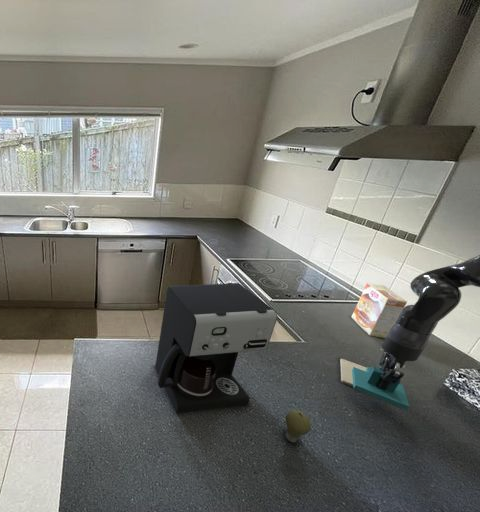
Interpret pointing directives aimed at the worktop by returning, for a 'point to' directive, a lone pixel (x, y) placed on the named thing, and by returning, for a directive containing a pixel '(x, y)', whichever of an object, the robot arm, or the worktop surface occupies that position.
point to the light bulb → (296, 425)
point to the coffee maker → (209, 343)
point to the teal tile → (367, 384)
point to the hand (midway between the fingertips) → (380, 384)
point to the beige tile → (348, 371)
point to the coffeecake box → (378, 310)
